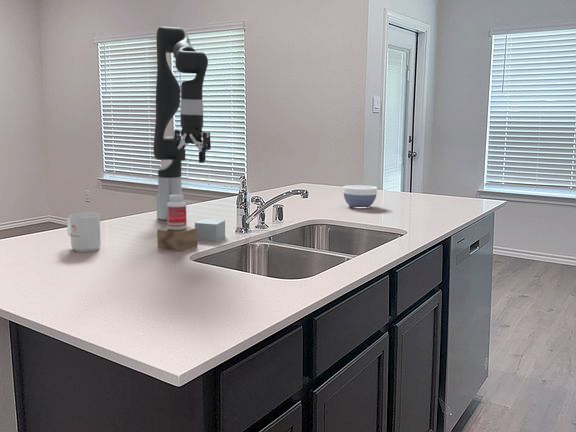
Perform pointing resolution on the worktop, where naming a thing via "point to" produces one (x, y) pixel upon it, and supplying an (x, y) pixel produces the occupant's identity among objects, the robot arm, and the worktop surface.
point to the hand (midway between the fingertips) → (192, 161)
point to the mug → (84, 231)
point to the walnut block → (177, 238)
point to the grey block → (210, 230)
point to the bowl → (359, 195)
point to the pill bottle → (176, 212)
